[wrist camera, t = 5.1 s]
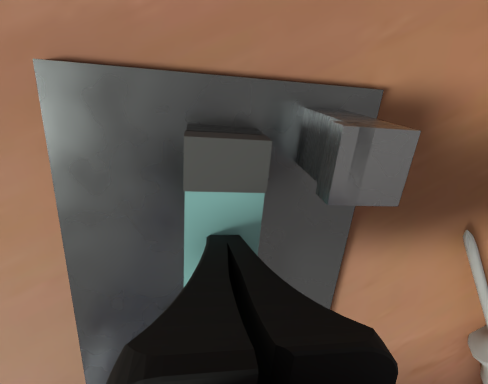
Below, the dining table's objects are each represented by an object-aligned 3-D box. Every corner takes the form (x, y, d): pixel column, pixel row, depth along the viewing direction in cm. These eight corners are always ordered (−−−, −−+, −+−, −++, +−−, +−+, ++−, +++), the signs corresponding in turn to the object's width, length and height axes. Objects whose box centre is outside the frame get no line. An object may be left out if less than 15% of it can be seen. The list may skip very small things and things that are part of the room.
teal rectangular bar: (237, 390, 17) (240, 421, 16) (182, 396, 17) (180, 427, 15) (264, 133, 12) (274, 142, 10) (185, 129, 11) (183, 137, 10)
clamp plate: (307, 373, 21) (342, 470, 16) (93, 392, 18) (55, 513, 13) (373, 88, 14) (475, 100, 9) (43, 59, 11) (-77, 51, 6)
